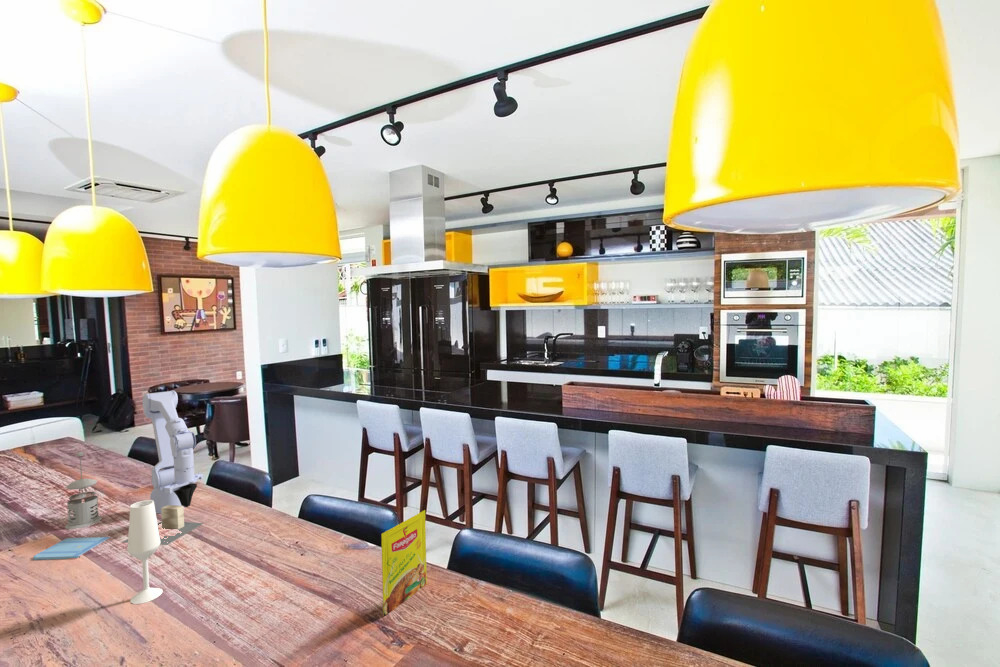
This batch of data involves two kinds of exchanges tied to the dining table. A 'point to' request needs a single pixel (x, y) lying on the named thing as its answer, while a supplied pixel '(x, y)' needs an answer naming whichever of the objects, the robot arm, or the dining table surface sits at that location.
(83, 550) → the folded blue cloth
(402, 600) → the food package
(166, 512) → the beige and teal block
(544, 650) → the dining table surface
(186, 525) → the mat
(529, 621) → the dining table surface
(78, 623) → the dining table surface
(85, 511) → the french press
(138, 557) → the champagne flute
